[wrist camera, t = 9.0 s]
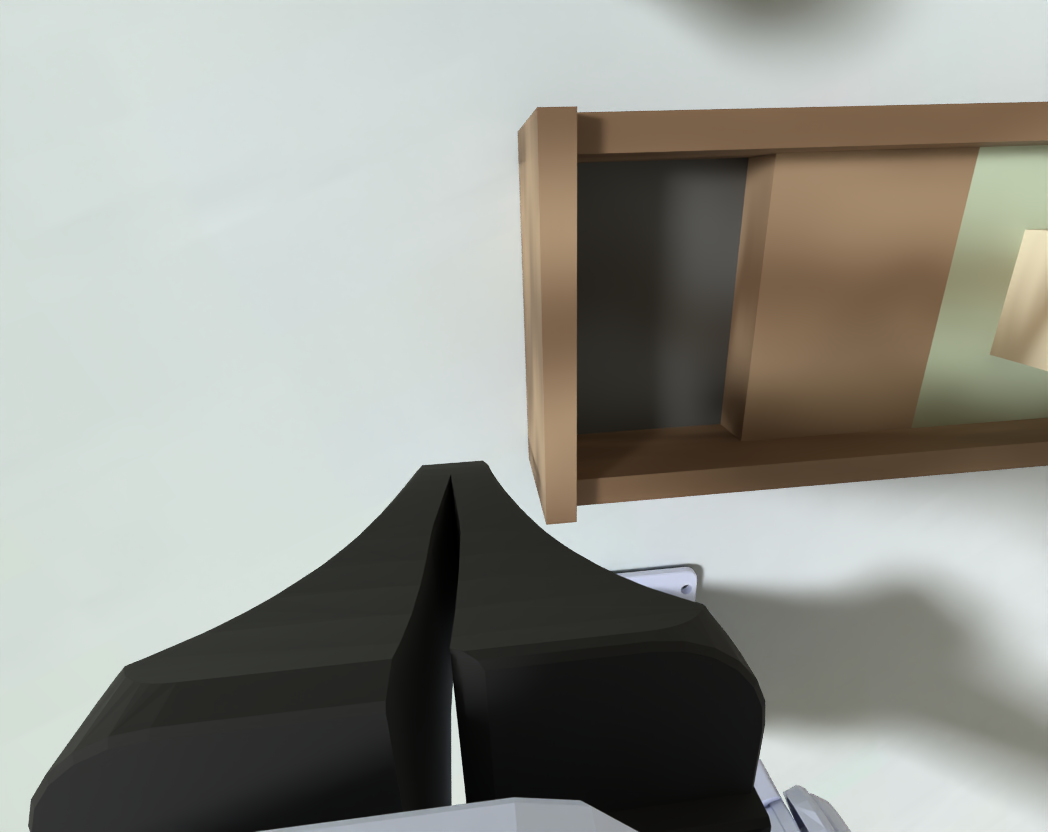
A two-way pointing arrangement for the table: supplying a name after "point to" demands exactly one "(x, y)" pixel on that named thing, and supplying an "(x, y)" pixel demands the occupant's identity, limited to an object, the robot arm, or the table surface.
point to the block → (1026, 306)
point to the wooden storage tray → (774, 297)
